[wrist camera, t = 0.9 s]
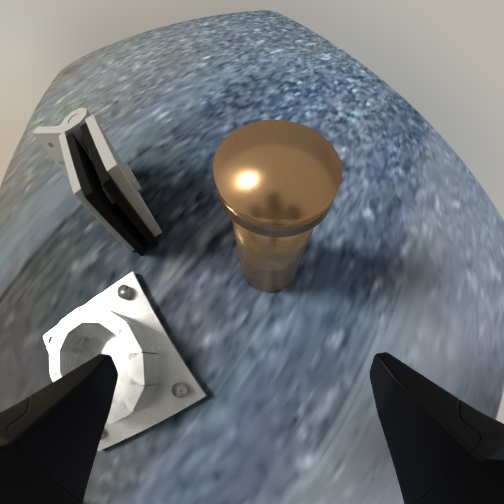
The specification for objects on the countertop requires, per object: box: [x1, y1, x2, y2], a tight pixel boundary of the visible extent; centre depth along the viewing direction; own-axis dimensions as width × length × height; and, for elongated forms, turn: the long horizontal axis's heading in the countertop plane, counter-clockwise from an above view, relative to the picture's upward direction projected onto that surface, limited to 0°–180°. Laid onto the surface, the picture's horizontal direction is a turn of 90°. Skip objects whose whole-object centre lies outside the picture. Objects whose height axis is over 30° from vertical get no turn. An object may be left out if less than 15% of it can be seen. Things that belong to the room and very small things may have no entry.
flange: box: [43, 271, 207, 451], centre depth 19 cm, size 12×12×4 cm
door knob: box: [213, 120, 342, 292], centre depth 17 cm, size 5×5×13 cm
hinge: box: [33, 108, 162, 255], centre depth 22 cm, size 14×5×10 cm, turn 48°
